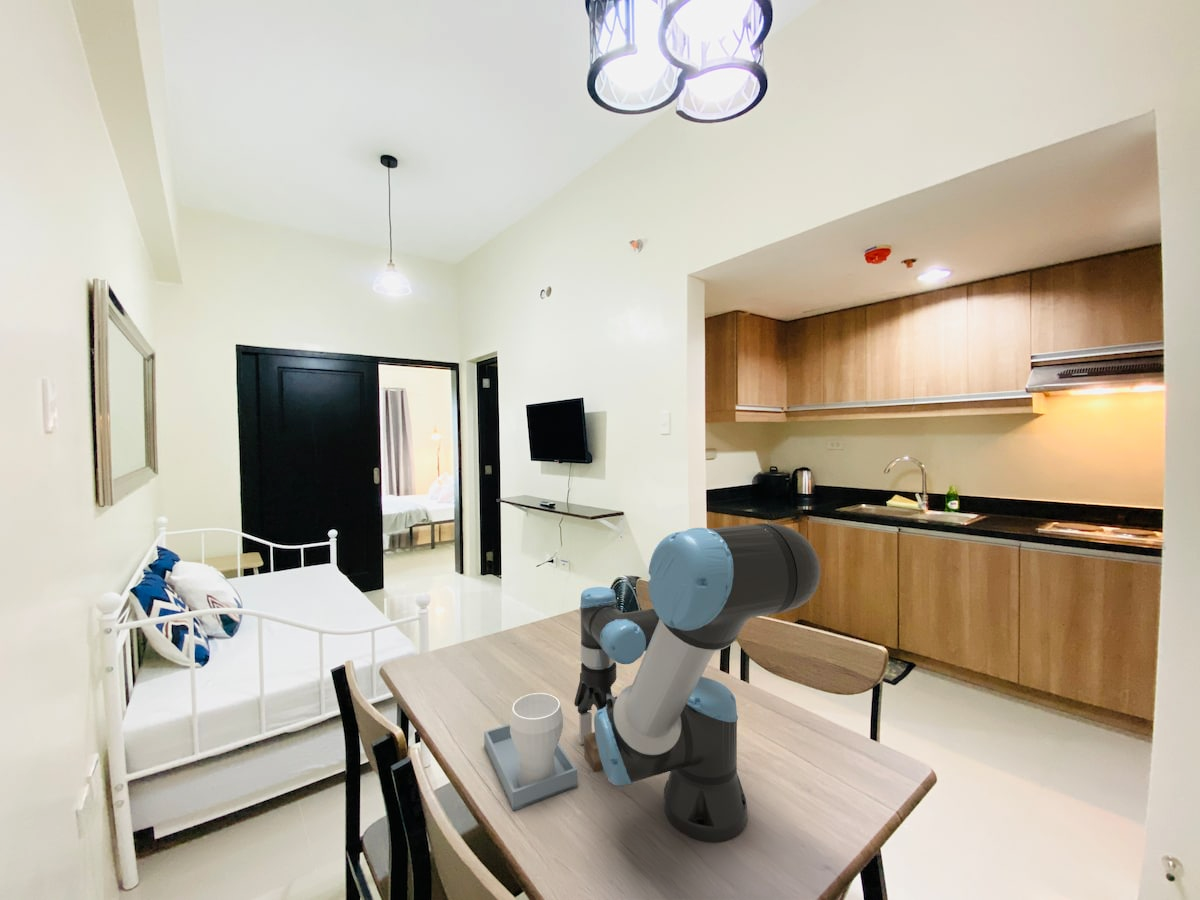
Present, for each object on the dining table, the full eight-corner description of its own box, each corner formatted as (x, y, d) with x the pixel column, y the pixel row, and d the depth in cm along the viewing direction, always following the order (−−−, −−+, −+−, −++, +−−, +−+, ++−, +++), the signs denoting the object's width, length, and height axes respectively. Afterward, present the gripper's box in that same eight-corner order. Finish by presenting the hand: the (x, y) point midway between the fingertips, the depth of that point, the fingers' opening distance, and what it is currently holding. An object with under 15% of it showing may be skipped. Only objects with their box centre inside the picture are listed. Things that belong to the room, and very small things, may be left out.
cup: (554, 802, 90) (553, 723, 90) (502, 794, 92) (500, 717, 92) (569, 764, 101) (568, 694, 100) (521, 758, 103) (520, 689, 103)
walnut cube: (615, 764, 102) (615, 741, 101) (594, 772, 99) (594, 748, 99) (604, 751, 106) (604, 729, 106) (584, 758, 104) (584, 735, 104)
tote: (577, 786, 95) (577, 769, 95) (513, 811, 89) (512, 792, 89) (539, 729, 114) (539, 715, 114) (484, 746, 108) (484, 731, 108)
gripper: (645, 683, 93) (646, 791, 94) (588, 637, 115) (589, 724, 116) (611, 693, 89) (612, 805, 90) (559, 643, 111) (560, 733, 112)
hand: (599, 759), depth 103 cm, fingers open, 13 cm apart
